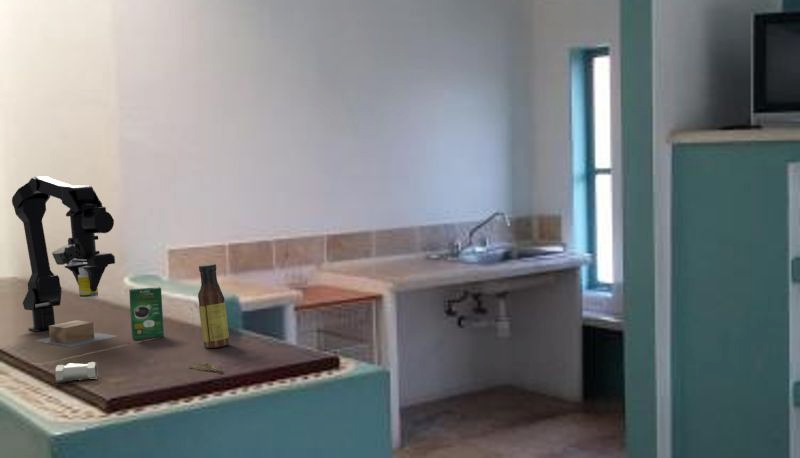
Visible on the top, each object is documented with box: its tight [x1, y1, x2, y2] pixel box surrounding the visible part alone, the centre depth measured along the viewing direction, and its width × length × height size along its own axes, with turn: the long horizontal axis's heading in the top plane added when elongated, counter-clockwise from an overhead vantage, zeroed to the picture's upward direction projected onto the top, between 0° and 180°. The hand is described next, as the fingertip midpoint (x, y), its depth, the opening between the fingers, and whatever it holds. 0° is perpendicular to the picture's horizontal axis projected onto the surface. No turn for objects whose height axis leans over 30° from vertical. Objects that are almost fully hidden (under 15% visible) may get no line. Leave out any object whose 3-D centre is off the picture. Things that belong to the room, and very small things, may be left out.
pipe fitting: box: [54, 361, 99, 384], centre depth 196 cm, size 8×4×7 cm
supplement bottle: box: [77, 266, 99, 300], centre depth 246 cm, size 5×5×8 cm
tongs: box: [188, 362, 225, 375], centre depth 197 cm, size 4×13×2 cm, turn 43°
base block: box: [48, 320, 95, 343], centre depth 240 cm, size 8×8×4 cm
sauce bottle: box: [197, 263, 230, 349], centre depth 221 cm, size 7×6×20 cm
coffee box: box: [128, 286, 165, 340], centre depth 237 cm, size 8×3×13 cm, turn 110°
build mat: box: [33, 332, 118, 348], centre depth 241 cm, size 18×14×1 cm
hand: (88, 291), depth 246 cm, fingers closed on supplement bottle, 5 cm apart
